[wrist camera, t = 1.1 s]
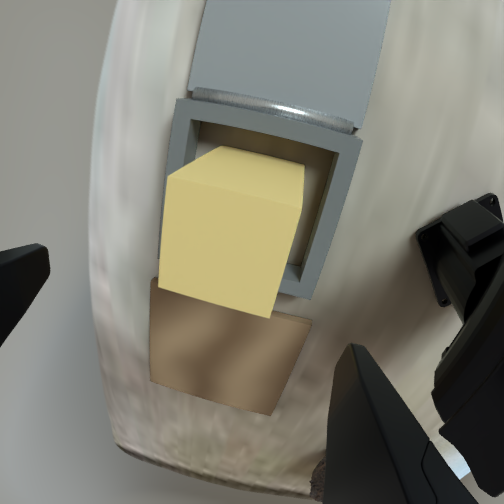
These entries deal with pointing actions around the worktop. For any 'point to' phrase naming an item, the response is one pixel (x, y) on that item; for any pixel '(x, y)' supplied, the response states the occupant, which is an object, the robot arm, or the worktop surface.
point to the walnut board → (222, 350)
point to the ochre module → (230, 228)
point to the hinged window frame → (286, 92)
